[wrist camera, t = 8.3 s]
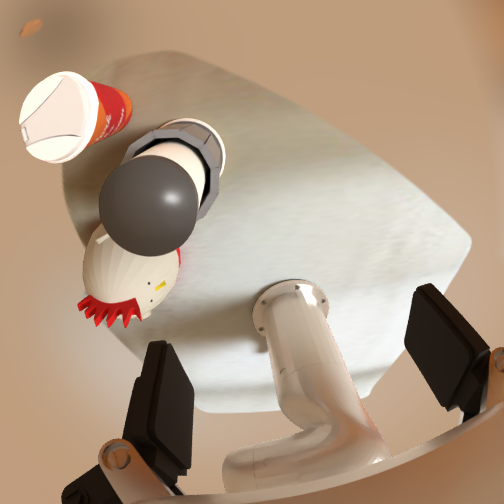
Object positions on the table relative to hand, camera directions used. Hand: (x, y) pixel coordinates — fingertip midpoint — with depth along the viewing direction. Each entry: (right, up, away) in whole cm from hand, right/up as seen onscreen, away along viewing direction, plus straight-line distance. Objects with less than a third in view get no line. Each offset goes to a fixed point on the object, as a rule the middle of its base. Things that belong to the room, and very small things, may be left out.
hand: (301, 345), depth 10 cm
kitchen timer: (-19, +3, +30) cm, 36 cm away
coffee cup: (-19, +21, +20) cm, 35 cm away
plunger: (-10, +14, +22) cm, 28 cm away
